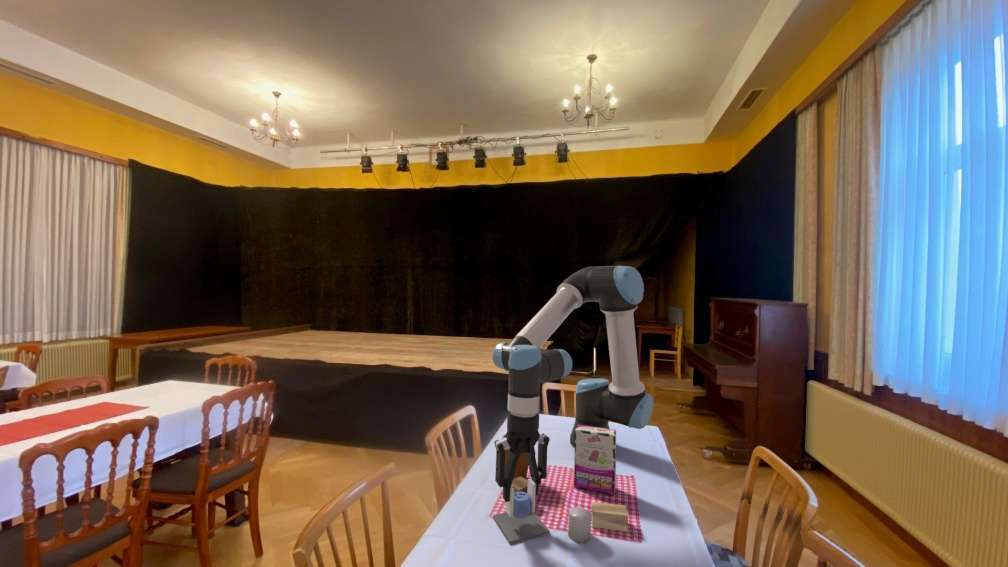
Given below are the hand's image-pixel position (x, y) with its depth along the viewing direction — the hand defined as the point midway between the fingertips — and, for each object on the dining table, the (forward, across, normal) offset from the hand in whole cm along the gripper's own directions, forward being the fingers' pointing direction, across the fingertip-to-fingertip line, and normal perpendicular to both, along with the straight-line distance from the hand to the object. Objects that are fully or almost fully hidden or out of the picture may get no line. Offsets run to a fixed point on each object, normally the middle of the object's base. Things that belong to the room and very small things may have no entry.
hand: (520, 511), depth 89 cm
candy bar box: (+3, -27, -8) cm, 29 cm away
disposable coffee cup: (+4, -8, -20) cm, 22 cm away
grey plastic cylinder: (+3, -11, +8) cm, 14 cm away
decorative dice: (+1, 0, 0) cm, 1 cm away
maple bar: (+4, -20, +7) cm, 22 cm away
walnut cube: (+3, -4, -9) cm, 11 cm away
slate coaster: (+3, 0, 0) cm, 3 cm away
